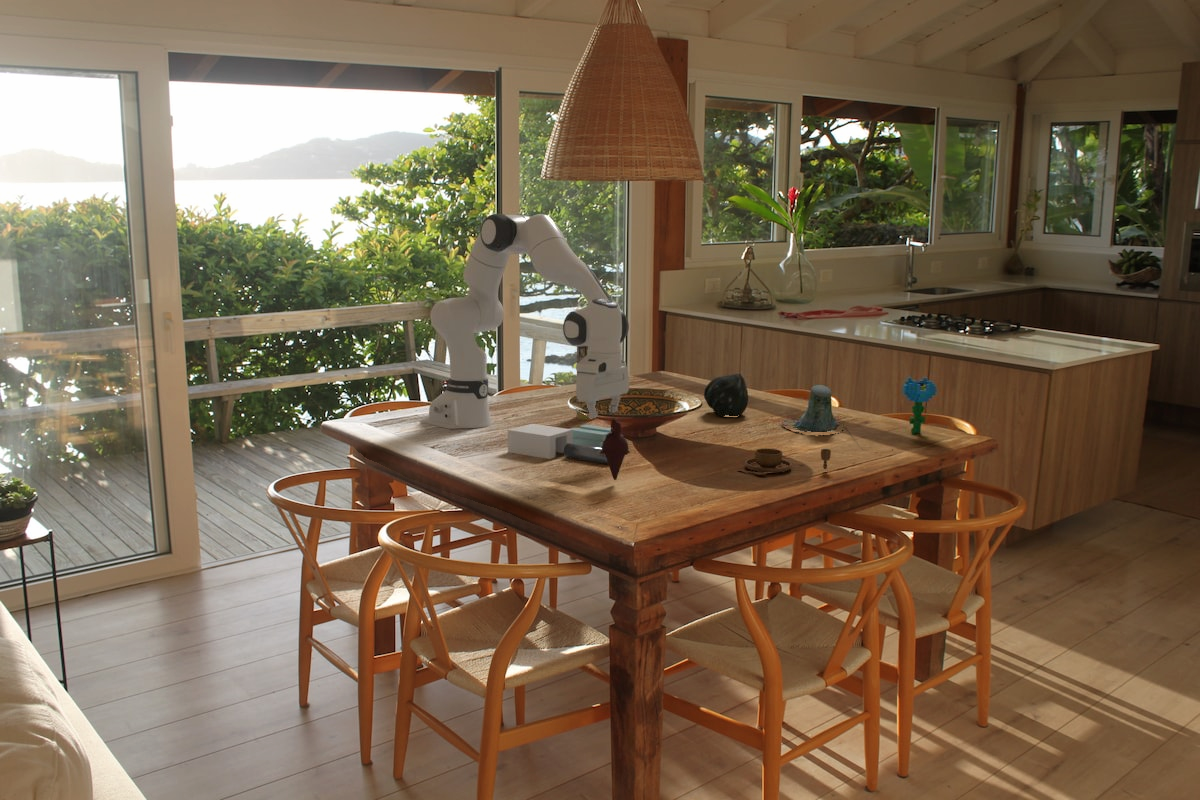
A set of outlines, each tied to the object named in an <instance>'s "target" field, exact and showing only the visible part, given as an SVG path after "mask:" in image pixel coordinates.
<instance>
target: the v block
mask: <svg viewBox="0 0 1200 800" xmlns="http://www.w3.org/2000/svg"><path fill="white" fill-rule="evenodd" d="M570 429H572V430H573V444H579V445H585V446H591V447H598V448H602V445H603V441H604V440H605V439H606V435H607V434H609V433H612V432H611V427H606V426H598V425H591V424H585V423H584V424H582V425H579V426H578V427H572V428H570ZM620 435H622V436H624V435H623V434H620Z"/></svg>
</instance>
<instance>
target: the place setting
mask: <svg viewBox="0 0 1200 800" xmlns="http://www.w3.org/2000/svg"><path fill="white" fill-rule="evenodd" d="M831 455H832V454H831V449H828V448H822V449H821V450H820V459H821V461H823V465H822V467H823V469H827V468H828V464H827V463H828V461H830V458H831ZM753 462H756V463H757V464H756V465H760V467H755V466H751V465H749V464H751V463H753ZM781 463H783V464H786V465H788V467H784V468H776V466H781V465H780V464H781ZM744 464H745V465H744V466H745V467H746V468H747V469H748V471H747V470H742V471H743V472H742V473H752V474H755V475H756V474H757V476H765V475H767V474H768V473H764V472H783V471H787V470H788V471H790V470H791V468H792V463H791V462H790V461H788V460H786V459H785V460H784V459H783V451H782V450H779V449H775V448H758V449H756V450H755V451H754V458H749V459H746V460H745V463H744ZM761 467H762V468H761ZM749 469H750V470H749ZM789 469H790V470H789ZM752 470H753V471H752ZM755 471H758V472H755ZM788 471H787V472H788ZM783 473H784V472H783Z"/></svg>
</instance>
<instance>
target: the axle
mask: <svg viewBox="0 0 1200 800" xmlns="http://www.w3.org/2000/svg"><path fill="white" fill-rule="evenodd" d="M601 451H602V448H598V447H591V446H585V445H579V444H572V443H567V444H566V445H565V447H564V453H563V456H564V457H565V458H567V459H573V460H579V461H586V462H590V463H598V464H602V465H603V464H604V465H608V462H607V459H606V456H605V454H602V453H600V452H601Z"/></svg>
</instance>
